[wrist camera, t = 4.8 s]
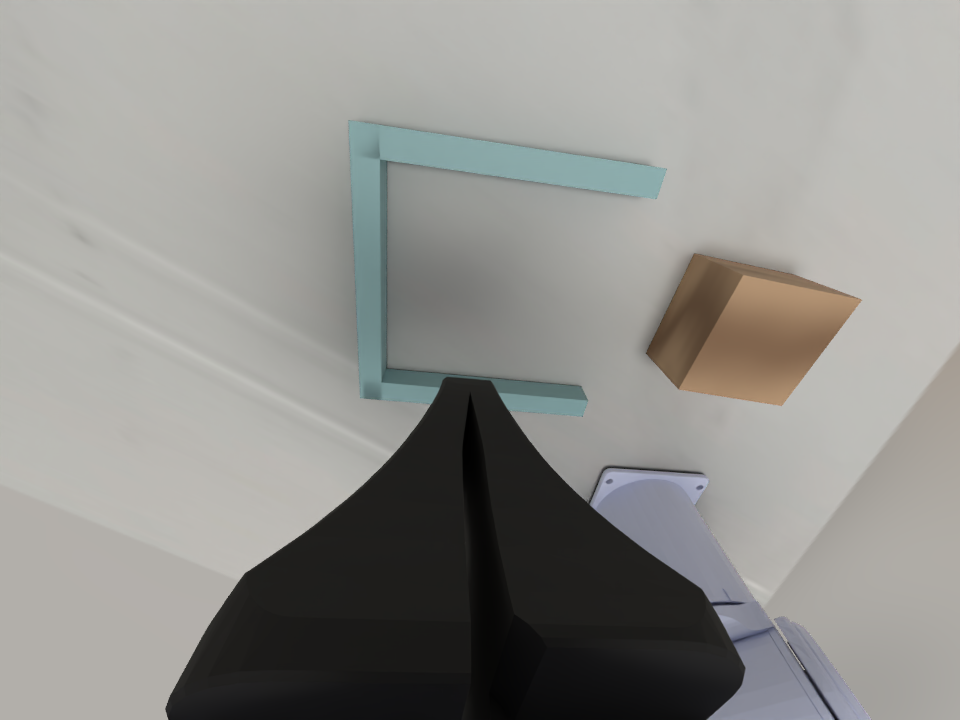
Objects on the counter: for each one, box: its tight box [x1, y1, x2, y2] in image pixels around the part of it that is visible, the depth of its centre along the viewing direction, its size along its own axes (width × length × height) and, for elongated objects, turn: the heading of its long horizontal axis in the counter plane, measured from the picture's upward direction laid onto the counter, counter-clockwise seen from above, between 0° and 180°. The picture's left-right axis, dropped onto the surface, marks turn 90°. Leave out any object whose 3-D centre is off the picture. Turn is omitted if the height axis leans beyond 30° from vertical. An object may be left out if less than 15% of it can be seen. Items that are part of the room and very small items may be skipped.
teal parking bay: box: [348, 120, 667, 417], centre depth 19 cm, size 13×13×2 cm
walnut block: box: [646, 254, 862, 406], centre depth 19 cm, size 6×6×4 cm
